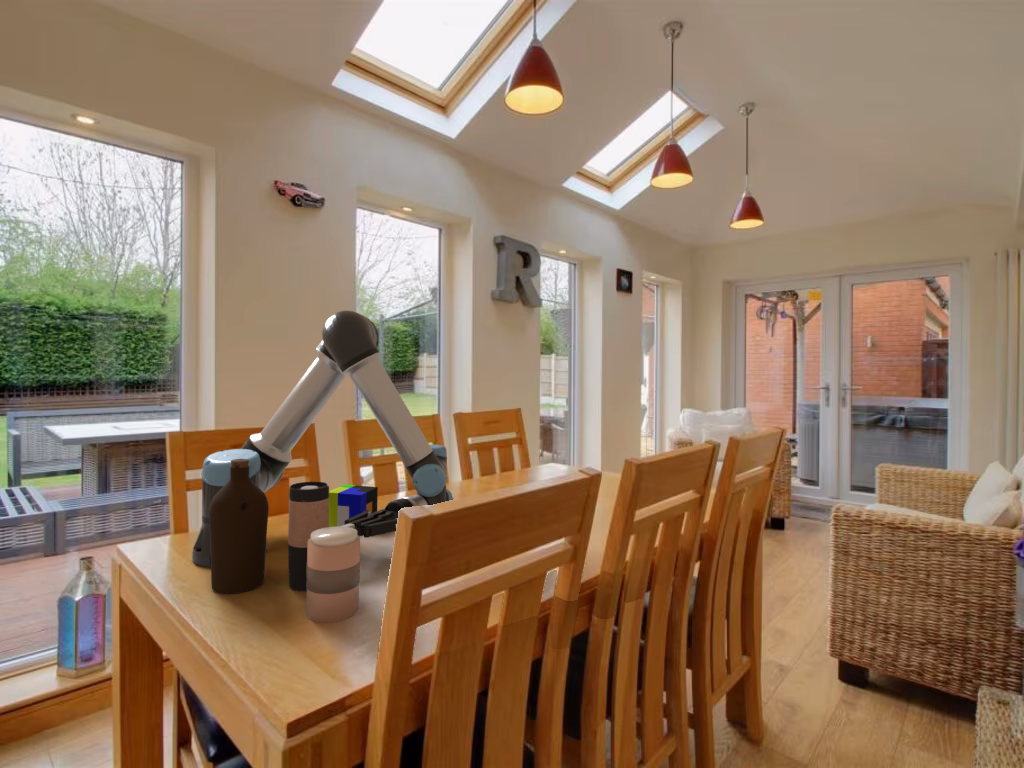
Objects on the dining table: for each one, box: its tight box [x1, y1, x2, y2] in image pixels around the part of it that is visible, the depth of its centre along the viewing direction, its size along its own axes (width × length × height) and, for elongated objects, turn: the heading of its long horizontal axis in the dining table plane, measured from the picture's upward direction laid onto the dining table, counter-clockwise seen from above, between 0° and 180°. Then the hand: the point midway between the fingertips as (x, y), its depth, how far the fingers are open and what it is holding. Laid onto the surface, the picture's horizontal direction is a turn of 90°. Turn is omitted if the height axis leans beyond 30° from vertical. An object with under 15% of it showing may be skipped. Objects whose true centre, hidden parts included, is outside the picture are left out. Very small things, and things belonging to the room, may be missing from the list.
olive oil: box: [209, 459, 270, 595], centre depth 108 cm, size 11×11×25 cm
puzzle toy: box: [329, 484, 379, 527], centre depth 149 cm, size 10×10×10 cm
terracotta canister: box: [305, 526, 361, 623], centre depth 98 cm, size 9×9×14 cm
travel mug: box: [287, 481, 330, 592], centre depth 109 cm, size 8×8×20 cm
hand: (328, 537), depth 114 cm, fingers closed
